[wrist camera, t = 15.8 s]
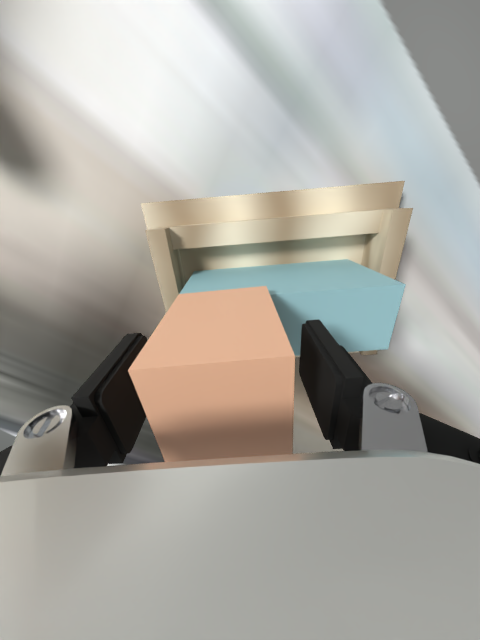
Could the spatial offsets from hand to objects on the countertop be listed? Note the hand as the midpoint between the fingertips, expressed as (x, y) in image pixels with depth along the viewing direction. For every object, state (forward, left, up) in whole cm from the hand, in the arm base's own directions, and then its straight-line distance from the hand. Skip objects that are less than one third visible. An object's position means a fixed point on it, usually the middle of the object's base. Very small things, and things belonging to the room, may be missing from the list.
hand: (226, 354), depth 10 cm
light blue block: (+3, 0, -9) cm, 9 cm away
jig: (+4, 0, -10) cm, 10 cm away
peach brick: (0, 0, -2) cm, 2 cm away
